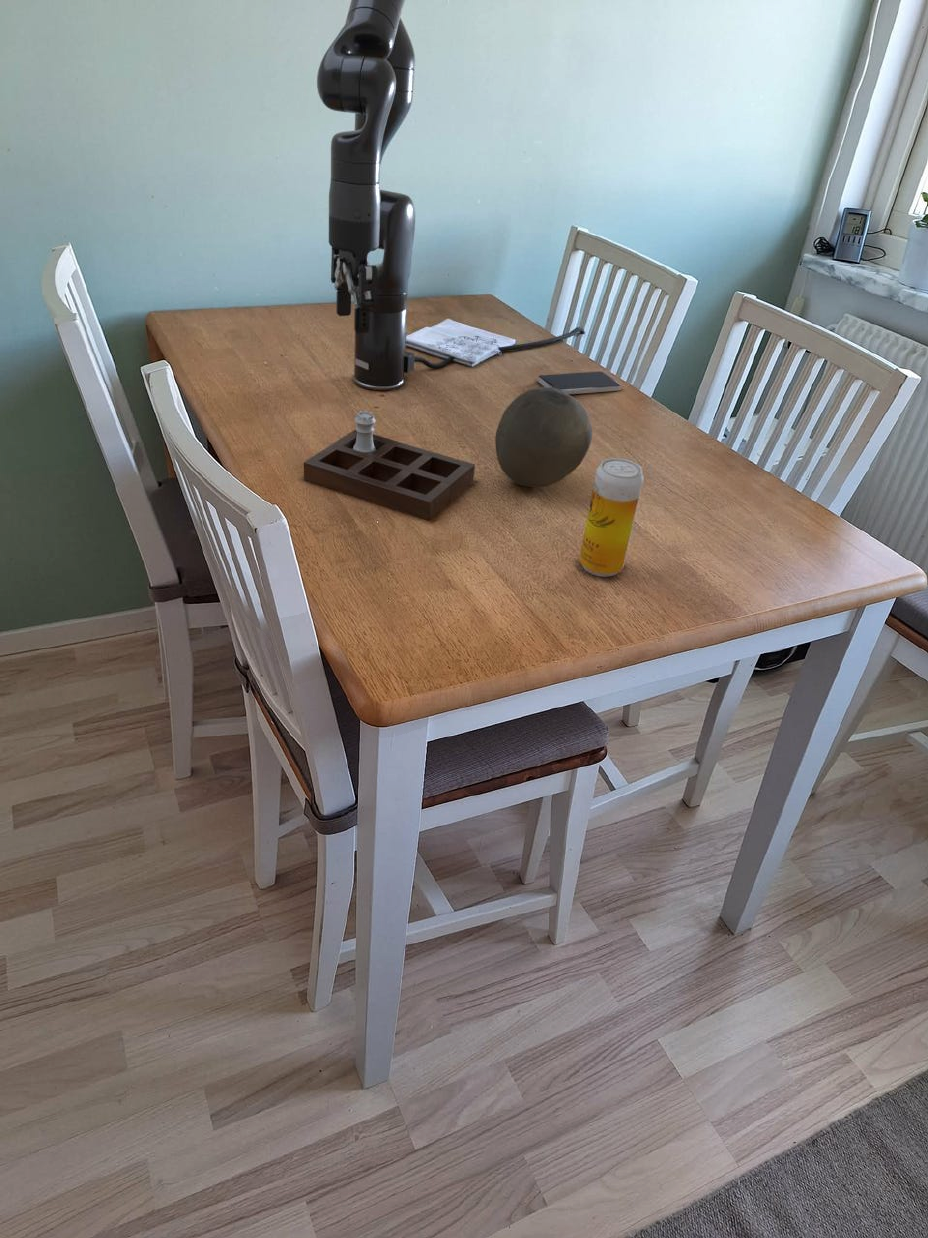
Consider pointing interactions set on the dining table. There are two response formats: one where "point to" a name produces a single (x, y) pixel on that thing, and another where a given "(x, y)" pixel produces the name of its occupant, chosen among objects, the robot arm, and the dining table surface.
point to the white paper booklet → (458, 342)
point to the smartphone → (580, 382)
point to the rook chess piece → (364, 432)
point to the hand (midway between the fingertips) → (352, 323)
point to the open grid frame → (391, 475)
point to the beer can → (611, 516)
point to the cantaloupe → (542, 437)
